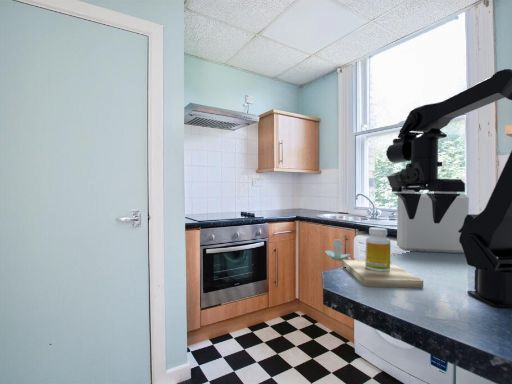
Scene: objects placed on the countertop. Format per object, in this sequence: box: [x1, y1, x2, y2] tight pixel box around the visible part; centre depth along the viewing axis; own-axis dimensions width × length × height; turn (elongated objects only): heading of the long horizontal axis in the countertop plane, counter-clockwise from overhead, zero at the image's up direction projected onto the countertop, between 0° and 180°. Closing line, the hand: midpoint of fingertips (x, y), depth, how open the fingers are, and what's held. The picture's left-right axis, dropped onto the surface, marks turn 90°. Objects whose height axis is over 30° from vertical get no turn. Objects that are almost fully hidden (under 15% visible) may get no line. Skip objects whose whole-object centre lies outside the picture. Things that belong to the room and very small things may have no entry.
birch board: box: [341, 259, 424, 289], centre depth 63 cm, size 16×12×2 cm
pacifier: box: [325, 238, 352, 262], centre depth 78 cm, size 7×6×6 cm
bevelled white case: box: [396, 193, 470, 254], centre depth 93 cm, size 21×8×20 cm, turn 82°
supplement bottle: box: [365, 227, 391, 272], centre depth 63 cm, size 5×5×10 cm
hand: (423, 221), depth 65 cm, fingers open, 9 cm apart
